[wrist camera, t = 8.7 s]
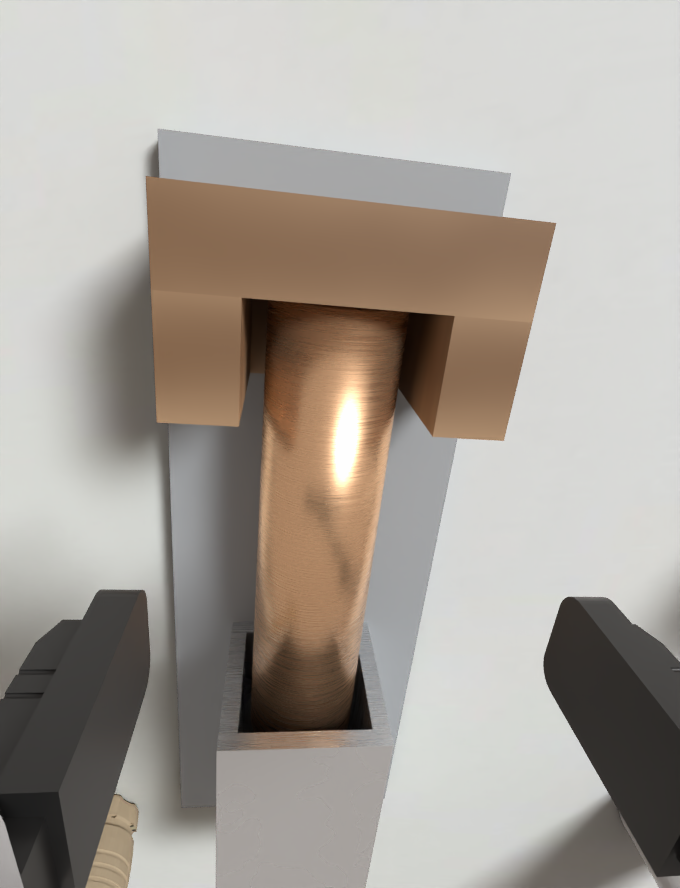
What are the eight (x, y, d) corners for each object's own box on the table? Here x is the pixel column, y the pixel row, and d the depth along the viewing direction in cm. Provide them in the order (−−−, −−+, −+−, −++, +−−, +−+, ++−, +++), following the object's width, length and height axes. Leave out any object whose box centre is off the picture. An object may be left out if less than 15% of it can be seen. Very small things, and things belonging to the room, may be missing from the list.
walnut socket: (444, 382, 21) (503, 440, 15) (192, 365, 19) (156, 422, 14) (473, 222, 18) (556, 223, 13) (189, 191, 17) (145, 176, 12)
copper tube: (343, 672, 25) (355, 757, 21) (253, 673, 25) (247, 761, 21) (394, 295, 18) (426, 316, 14) (269, 284, 18) (265, 303, 14)
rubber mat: (381, 782, 32) (384, 798, 31) (184, 790, 30) (181, 807, 30) (499, 175, 19) (511, 173, 18) (164, 133, 17) (157, 128, 16)
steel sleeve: (343, 781, 30) (358, 921, 24) (229, 785, 29) (215, 931, 23) (367, 621, 25) (393, 745, 19) (232, 621, 25) (216, 751, 19)
